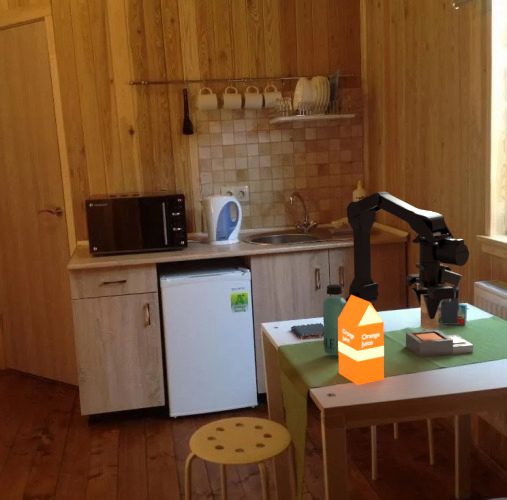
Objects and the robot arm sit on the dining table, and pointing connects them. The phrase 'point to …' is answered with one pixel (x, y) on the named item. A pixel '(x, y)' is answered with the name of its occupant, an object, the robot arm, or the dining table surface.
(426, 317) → the tan wooden block
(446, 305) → the vaping device
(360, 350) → the orange juice
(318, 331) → the woven mat
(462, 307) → the yogurt
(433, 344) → the box
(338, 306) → the beverage bottle
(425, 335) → the button
